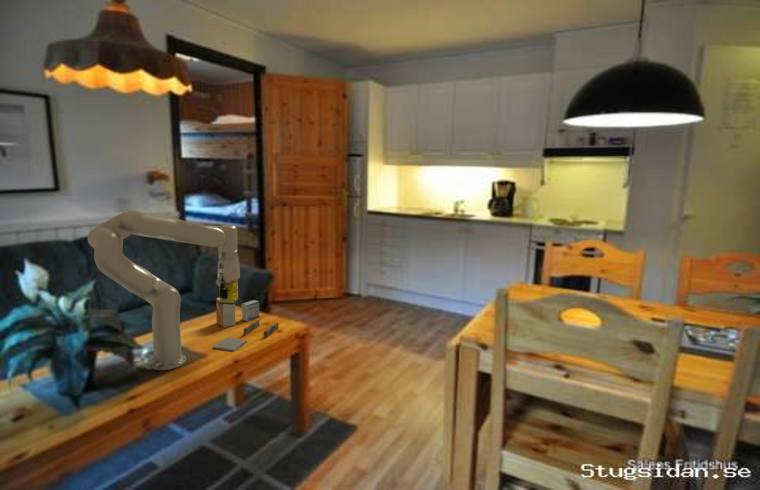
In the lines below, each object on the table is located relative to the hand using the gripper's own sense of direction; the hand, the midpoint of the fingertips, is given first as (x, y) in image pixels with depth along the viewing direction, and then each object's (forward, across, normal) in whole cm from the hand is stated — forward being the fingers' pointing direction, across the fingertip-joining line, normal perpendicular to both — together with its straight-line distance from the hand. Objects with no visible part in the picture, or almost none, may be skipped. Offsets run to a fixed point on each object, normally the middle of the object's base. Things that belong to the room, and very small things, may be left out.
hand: (228, 295), depth 177 cm
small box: (+23, +21, +16) cm, 35 cm away
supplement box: (+3, 0, 0) cm, 3 cm away
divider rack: (+23, +18, -5) cm, 29 cm away
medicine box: (+23, +32, +9) cm, 40 cm away
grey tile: (+23, 0, 0) cm, 23 cm away
